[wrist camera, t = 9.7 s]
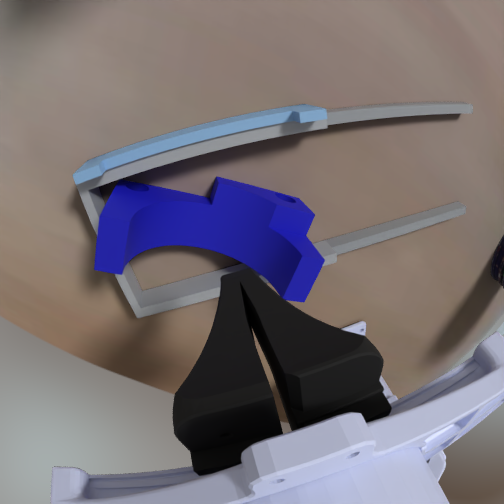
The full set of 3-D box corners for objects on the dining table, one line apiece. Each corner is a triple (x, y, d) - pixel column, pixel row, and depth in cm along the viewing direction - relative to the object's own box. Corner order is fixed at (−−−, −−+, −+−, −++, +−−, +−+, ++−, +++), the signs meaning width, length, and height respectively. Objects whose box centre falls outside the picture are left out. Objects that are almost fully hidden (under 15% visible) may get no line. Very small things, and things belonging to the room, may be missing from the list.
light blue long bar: (305, 112, 18) (327, 119, 16) (90, 168, 17) (76, 184, 14) (304, 104, 18) (326, 108, 15) (87, 160, 17) (72, 174, 14)
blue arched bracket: (298, 197, 22) (336, 237, 17) (275, 252, 24) (304, 302, 18) (124, 155, 17) (104, 185, 12) (112, 220, 19) (94, 269, 14)
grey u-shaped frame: (457, 208, 26) (470, 217, 24) (139, 300, 23) (137, 318, 21) (462, 101, 20) (479, 106, 18) (83, 171, 17) (74, 181, 15)
